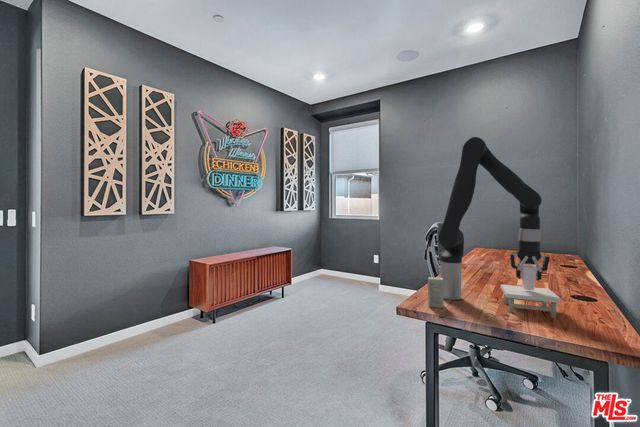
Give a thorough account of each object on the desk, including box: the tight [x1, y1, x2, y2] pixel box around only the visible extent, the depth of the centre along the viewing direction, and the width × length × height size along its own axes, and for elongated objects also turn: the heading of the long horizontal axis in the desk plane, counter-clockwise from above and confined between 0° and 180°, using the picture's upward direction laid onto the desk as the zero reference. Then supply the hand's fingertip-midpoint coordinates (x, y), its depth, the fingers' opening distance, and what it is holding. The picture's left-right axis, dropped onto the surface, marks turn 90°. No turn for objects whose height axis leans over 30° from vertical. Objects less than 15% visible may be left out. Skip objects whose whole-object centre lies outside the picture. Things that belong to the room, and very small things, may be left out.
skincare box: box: [427, 276, 445, 309], centre depth 132 cm, size 6×4×12 cm
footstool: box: [500, 284, 562, 319], centre depth 127 cm, size 18×16×8 cm
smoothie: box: [520, 264, 538, 290], centre depth 127 cm, size 6×6×14 cm
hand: (528, 279), depth 127 cm, fingers closed on smoothie, 6 cm apart
